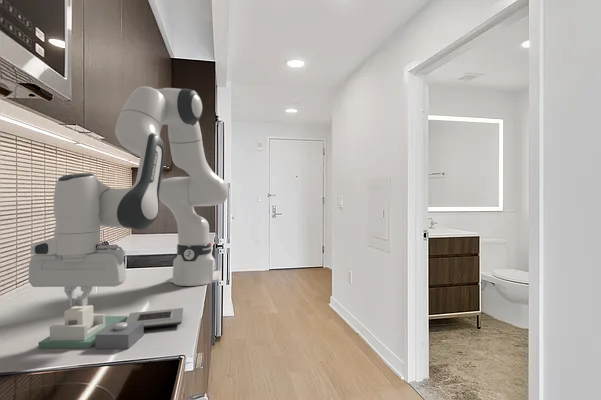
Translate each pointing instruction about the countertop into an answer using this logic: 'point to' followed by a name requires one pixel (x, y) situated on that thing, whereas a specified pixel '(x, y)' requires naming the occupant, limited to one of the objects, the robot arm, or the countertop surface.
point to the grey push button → (119, 335)
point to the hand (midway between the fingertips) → (78, 305)
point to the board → (78, 333)
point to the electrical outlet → (157, 318)
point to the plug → (80, 316)
